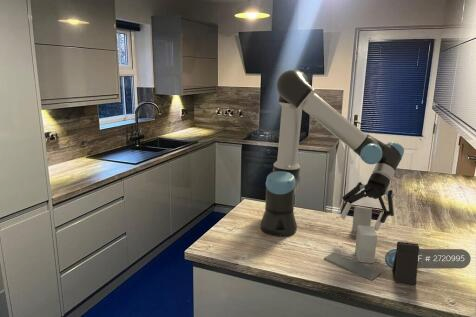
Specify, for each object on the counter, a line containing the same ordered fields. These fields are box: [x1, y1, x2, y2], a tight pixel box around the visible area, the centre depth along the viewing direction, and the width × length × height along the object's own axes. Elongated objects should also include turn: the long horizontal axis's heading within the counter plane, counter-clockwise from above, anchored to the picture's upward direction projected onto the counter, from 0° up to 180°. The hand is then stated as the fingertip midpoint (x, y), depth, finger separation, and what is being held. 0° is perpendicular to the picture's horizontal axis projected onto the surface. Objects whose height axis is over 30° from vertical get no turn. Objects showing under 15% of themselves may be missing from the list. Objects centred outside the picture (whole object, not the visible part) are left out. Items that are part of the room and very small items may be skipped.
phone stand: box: [391, 241, 420, 287], centre depth 115 cm, size 9×6×12 cm, turn 163°
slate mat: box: [323, 251, 382, 282], centre depth 123 cm, size 18×6×1 cm, turn 43°
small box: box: [354, 225, 378, 264], centre depth 127 cm, size 8×6×10 cm
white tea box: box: [351, 205, 373, 232], centre depth 149 cm, size 4×7×10 cm, turn 64°
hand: (358, 223), depth 135 cm, fingers open, 13 cm apart
